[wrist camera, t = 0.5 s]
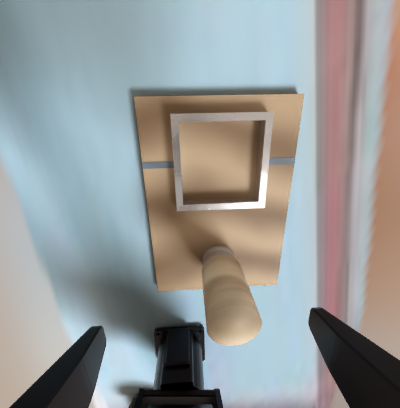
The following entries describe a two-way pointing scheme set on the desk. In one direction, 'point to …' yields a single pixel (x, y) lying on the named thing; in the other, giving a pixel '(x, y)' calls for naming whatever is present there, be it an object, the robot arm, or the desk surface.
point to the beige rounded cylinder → (228, 299)
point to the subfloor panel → (216, 183)
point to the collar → (262, 162)
